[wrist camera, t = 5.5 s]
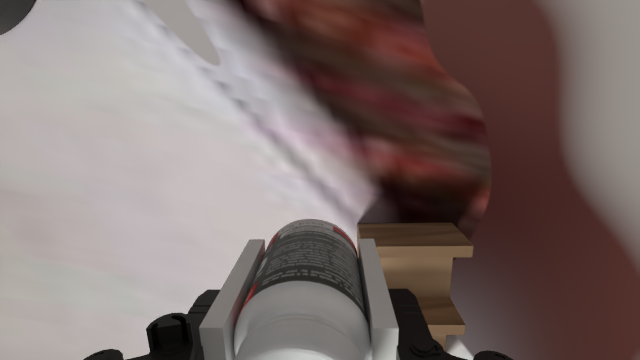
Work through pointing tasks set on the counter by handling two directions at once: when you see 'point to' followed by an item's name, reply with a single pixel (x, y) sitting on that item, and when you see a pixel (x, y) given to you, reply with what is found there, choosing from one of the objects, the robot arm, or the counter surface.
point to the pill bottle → (305, 299)
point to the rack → (422, 267)
